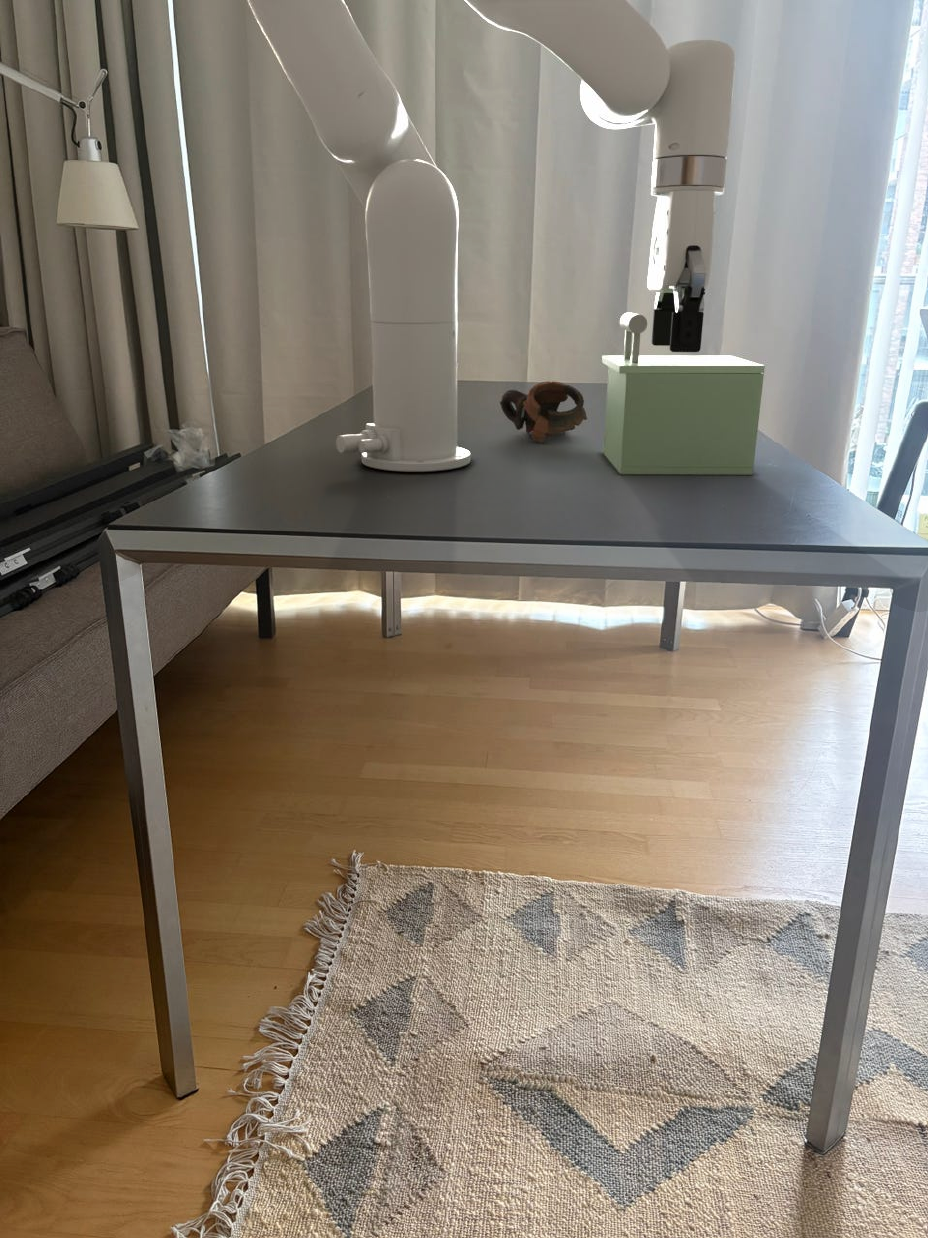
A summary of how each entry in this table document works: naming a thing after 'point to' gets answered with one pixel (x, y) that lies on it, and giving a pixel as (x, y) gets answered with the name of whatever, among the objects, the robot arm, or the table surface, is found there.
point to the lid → (669, 363)
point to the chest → (682, 422)
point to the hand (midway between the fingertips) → (674, 348)
